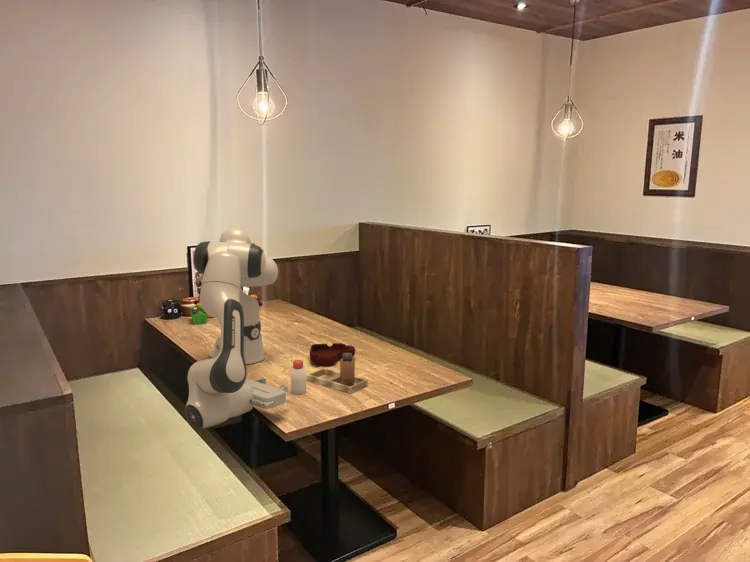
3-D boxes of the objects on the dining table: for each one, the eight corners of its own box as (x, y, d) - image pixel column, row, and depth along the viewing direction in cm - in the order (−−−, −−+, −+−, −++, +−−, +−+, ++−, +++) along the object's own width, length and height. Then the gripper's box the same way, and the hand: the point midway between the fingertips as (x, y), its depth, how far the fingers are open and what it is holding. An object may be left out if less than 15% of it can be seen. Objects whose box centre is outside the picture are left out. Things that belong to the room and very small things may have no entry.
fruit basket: (191, 319, 275) (189, 296, 273) (210, 318, 278) (209, 295, 276) (191, 325, 265) (189, 301, 263) (211, 324, 267) (210, 300, 265)
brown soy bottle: (337, 386, 189) (337, 354, 187) (346, 382, 193) (346, 351, 191) (348, 390, 186) (348, 357, 184) (357, 385, 190) (357, 353, 188)
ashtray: (328, 350, 230) (328, 338, 229) (359, 359, 220) (359, 347, 219) (295, 362, 217) (295, 349, 216) (326, 371, 207) (326, 358, 206)
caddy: (306, 383, 195) (306, 374, 194) (324, 376, 202) (324, 367, 201) (350, 396, 183) (350, 387, 183) (367, 388, 190) (367, 379, 190)
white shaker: (288, 394, 185) (287, 361, 183) (298, 390, 189) (297, 358, 186) (298, 398, 182) (298, 365, 180) (309, 393, 186) (308, 361, 184)
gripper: (264, 396, 159) (299, 382, 170) (216, 380, 171) (252, 367, 182) (264, 418, 160) (299, 402, 171) (217, 400, 172) (253, 386, 183)
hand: (275, 384), depth 176 cm, fingers open, 8 cm apart
